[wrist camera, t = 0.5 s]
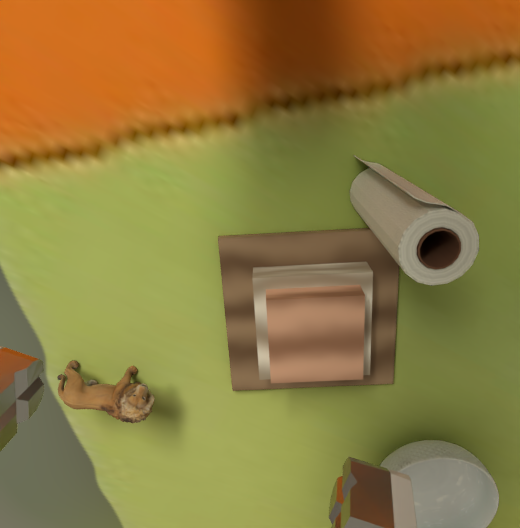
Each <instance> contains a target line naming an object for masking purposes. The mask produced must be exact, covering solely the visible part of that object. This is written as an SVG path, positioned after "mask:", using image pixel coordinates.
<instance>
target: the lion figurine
mask: <svg viewBox="0 0 520 528" xmlns="http://www.w3.org/2000/svg"><path fill="white" fill-rule="evenodd" d="M78 366H79V364H78V362H77V361H71V362H70V363H69V364H68V365H67V367H66V369H65V372H64V373H65V374H66V375H67V379H68V380H67V383H66V385H65V388H64V384H65V379H66V377H65V376H64V375H62V374H61V375H59V376H58V380H61V381H60V383H59V387H58V393H59V396H60V398H61V399H62V400H63V401H64V403H65V404H66V405H67V406H69V407H71V408H73V409H96V410H102V411H106V412H107V413H108V414H109V415H112V416H113V417H116V419H120V420H121V421H123V422H124V421H125V422H131V423H135V422H136V423H138V422H140V421H141V420H145V419H146V417H147V416H148V415H149V414H150V413H151V412H152V406H153V404H154V395H153V394H152V393H151V392H150V391H149V390H148V388H147V385H146V384H141V383H139V382H135V383H130V380H131V377H132V375H134V374H136V372H137V369H136V367H134V366H131V367H129V368H128V369H127V370H126V373H125V375H124V377H123V378H122V379H121V380H120V381H119V382H118V383H117V385H116V386H115V385H110V384H98V382H97V381H95V380H90V381H87V382H84V380H83V378H82V377H81V375H80V374H79V373H77V372H76V371H75V370H73V369H76V368H77V367H78Z"/></svg>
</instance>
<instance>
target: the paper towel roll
mask: <svg viewBox="0 0 520 528" xmlns="http://www.w3.org/2000/svg"><path fill="white" fill-rule="evenodd" d="M354 156H355V155H354ZM355 157H356V156H355ZM356 158H357V159H359V158H358V157H356ZM359 160H360V161H361V162H363V163H364V164H366V165H367V166H369V167H370V168H368V169H366V170H364V171H363V172H361V173H359V175H358V176H357V177H356V178H355V179H354V181H353V183H352V186H351V189H350V200H351V203H352V205H353V206H354V208H355V210H356V211H357V212H358V214H359V215H360V216H361V218H362V219H363V220H364V221H365V223H366V224H367V225H368V227H369V228H370V229H371V230H372V232H373V233H374V234H375V235H376V237H377V238H378V239H379V241H380V242H381V243H382V244H383V246H384V247H385V248H386V249H387V251H388V252H389V253H390V255H391V256H392V257H393V258H394V260H395V261H396V262H397V264H398V265H399V266H400V267H401V269H402V270H403V271H404V272H405V274H407V275H408V276H409V277H411V278H412V279H413V280H415V281H416V282H419V283H423V284H427V285H431V286H432V285H440V284H447V283H449V282H451V281H453V280H455V279H457V278H459V277H461V276H462V275H463V274H464V273H465V272H466V271H467V270H468V269H469V268H470V267H471V266H472V265H473V262H474V260H475V258H476V256H477V253H478V251H479V235H478V232H477V230H476V228H475V226H474V224H473V222H472V221H471V220H469V219H468V218H467V217H465V216H464V215H463V214H461V213H460V212H458V211H457V210H455V209H453V208H452V207H450V206H448V205H447V204H445V203H443V202H442V201H440V200H438V199H437V198H435V197H434V196H432V195H430V194H429V193H427V192H425V191H424V190H422V189H420V188H419V187H417V186H415V185H414V184H412V183H410V182H409V181H407V180H405V179H404V178H402V177H401V176H399V175H397V174H396V173H394V172H392V171H391V170H389V169H387V168H386V167H384V166H382V165H380V164H379V163H373V162H366V161H363V160H361V159H359Z"/></svg>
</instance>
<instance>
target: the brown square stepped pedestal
mask: <svg viewBox="0 0 520 528" xmlns="http://www.w3.org/2000/svg"><path fill="white" fill-rule="evenodd" d="M218 243H219V254H220V264H221V275H222V285H223V295H224V306H225V316H226V327H227V337H228V348H229V358H230V368H231V379H232V389H233V391H234V390H258V389H281V388H304V387H327V386H350V385H374V384H393V376H394V357H395V337H396V318H397V299H398V280H399V265H398V264H397V262H396V261H395V260H394V258H393V257H392V256H391V255H390V253H389V252H388V251H387V249H386V248H385V247H384V246H383V244H382V243H381V242H380V241H379V239H378V238H377V237H376V235H375V234H374V233H373V232H372V230H371V229H370V228H359V229H341V230H322V231H303V232H285V233H266V234H248V235H229V236H219V237H218Z"/></svg>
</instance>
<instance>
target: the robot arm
mask: <svg viewBox="0 0 520 528" xmlns="http://www.w3.org/2000/svg"><path fill="white" fill-rule="evenodd" d="M43 371H44V368H43V361H41V360H40V359H37V358H34V357H31V356H28V355H25V354H22V353H20V352H17V351H14V350H11V349H8V348H4V347H1V346H0V451H1V450H2V449H3V448H4V447H5V445H6V444H7V443H8V442H9V441H10V440H11V439H12V438H13V436H14V435H15V434H16V433H17V424H18V423H20V422H23V421H25V420H28V419H29V418H30V417H31V416H32V415H33V413H34V412H35V411H36V409H37V408H38V406H39V404H40V402H41V400H42V396H43V392H44V383H43V382H42V380H41V379H40V377H39V375H40V374H41V373H42V372H43ZM329 519H330V520H331V522H332V524H333V525H332V527H331V528H417V521H416V514H415V506H414V498H413V490H412V482H411V478H410V477H409V475H406V474H403V473H400V472H397V471H393V470H390V469H387V468H384V467H381V466H378V465H374V464H371V463H368V462H364V461H361V460H358V459H355V458H351V457H348V458H347V459H346V461H345V463H344V465H343V476H341V477H339V478H337V480H336V483H335V485H334V488H333V492H332V495H331V500H330V507H329Z"/></svg>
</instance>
